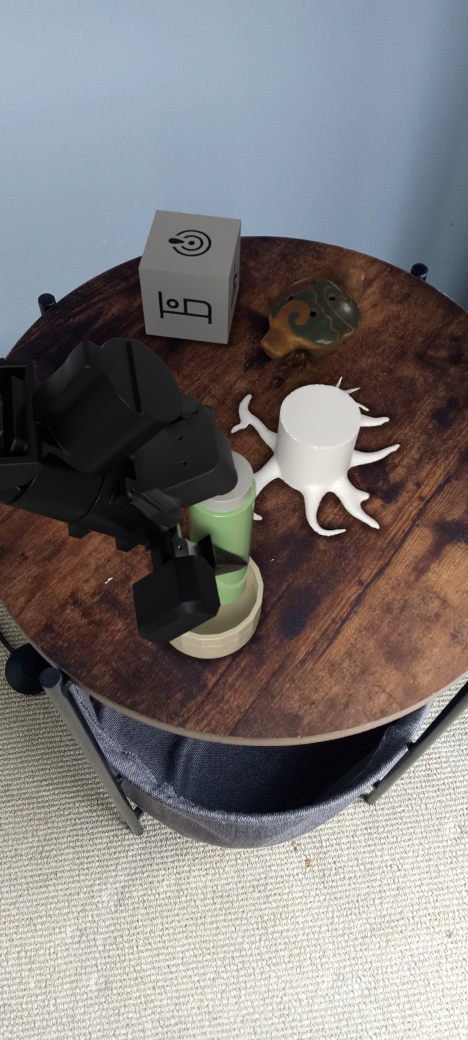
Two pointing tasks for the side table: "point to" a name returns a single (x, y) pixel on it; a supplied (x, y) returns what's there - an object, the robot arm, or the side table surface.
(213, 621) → the bowl
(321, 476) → the tree stump
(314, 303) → the ocarina
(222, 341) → the icon cube
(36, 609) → the side table surface
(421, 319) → the side table surface
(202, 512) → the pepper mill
